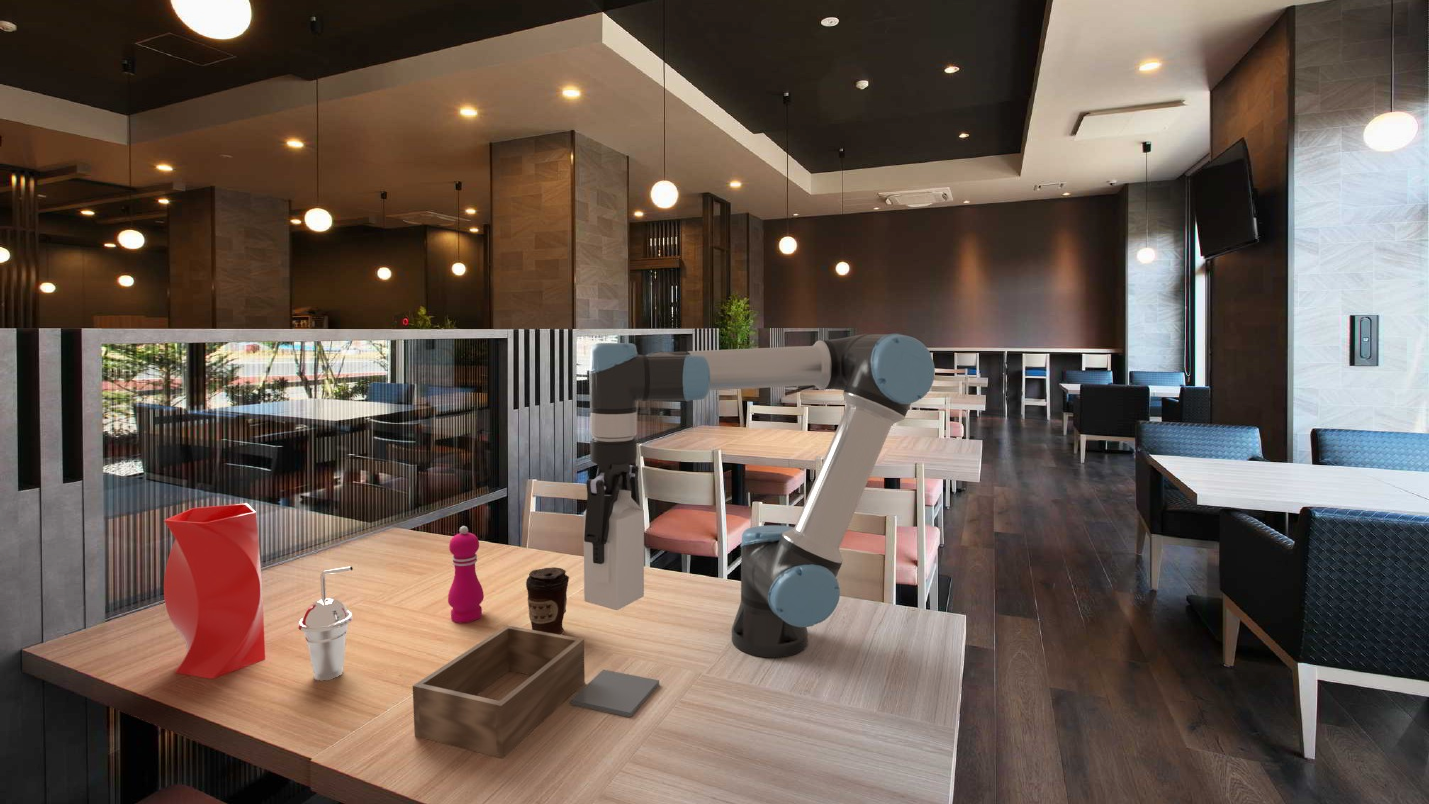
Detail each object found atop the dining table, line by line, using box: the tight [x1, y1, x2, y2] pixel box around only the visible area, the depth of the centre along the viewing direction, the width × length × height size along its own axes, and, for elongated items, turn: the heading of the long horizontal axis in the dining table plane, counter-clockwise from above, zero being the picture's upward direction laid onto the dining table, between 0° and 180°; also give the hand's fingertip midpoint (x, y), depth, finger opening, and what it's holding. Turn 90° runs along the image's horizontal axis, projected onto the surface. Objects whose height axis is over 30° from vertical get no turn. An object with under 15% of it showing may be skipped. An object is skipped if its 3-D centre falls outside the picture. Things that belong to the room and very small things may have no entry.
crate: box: [412, 624, 586, 759], centre depth 113 cm, size 16×23×8 cm
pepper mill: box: [447, 525, 485, 624], centre depth 148 cm, size 7×7×20 cm
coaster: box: [570, 669, 660, 718], centre depth 118 cm, size 11×11×1 cm
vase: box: [163, 503, 266, 680], centre depth 129 cm, size 15×14×28 cm
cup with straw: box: [297, 566, 354, 682], centre depth 123 cm, size 8×9×20 cm
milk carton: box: [582, 489, 645, 611], centre depth 115 cm, size 7×7×19 cm
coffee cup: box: [525, 567, 570, 635], centre depth 141 cm, size 9×8×13 cm
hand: (614, 572), depth 116 cm, fingers closed on milk carton, 8 cm apart
